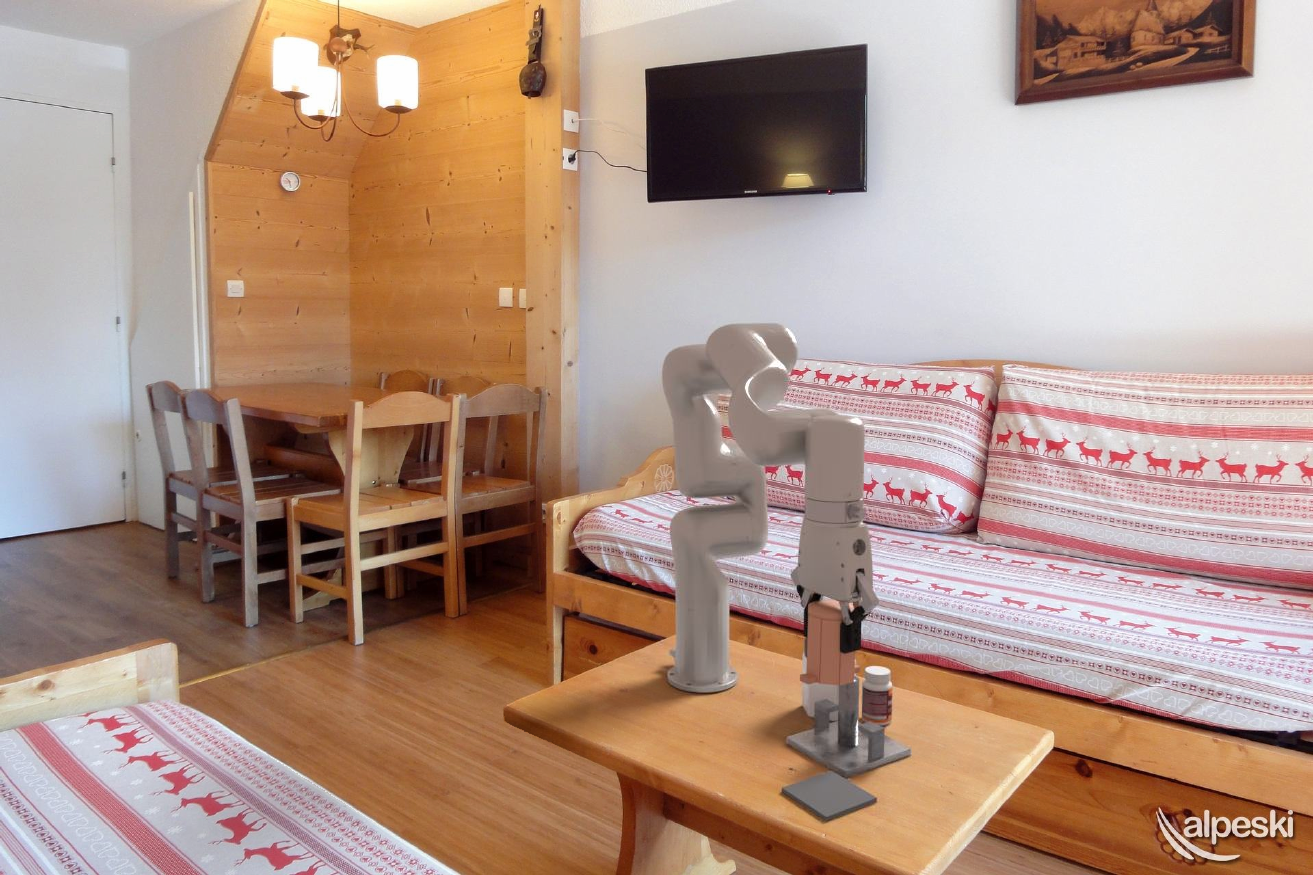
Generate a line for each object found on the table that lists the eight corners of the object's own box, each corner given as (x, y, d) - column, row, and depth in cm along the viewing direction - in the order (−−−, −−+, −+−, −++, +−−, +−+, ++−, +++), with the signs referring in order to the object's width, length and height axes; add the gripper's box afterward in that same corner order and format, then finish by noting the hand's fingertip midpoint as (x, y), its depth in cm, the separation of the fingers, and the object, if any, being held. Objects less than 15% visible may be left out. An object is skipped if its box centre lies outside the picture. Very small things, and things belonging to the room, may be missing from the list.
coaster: (781, 791, 129) (781, 787, 129) (830, 774, 134) (830, 770, 134) (826, 821, 121) (826, 816, 121) (876, 801, 126) (876, 797, 126)
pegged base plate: (786, 743, 143) (787, 674, 142) (849, 722, 150) (850, 657, 149) (845, 778, 132) (847, 703, 131) (910, 754, 139) (912, 683, 138)
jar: (825, 725, 149) (826, 653, 148) (791, 708, 156) (792, 638, 154) (865, 712, 154) (867, 642, 153) (830, 695, 161) (832, 628, 159)
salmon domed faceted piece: (839, 663, 130) (841, 596, 129) (872, 677, 125) (875, 607, 124) (788, 675, 125) (790, 605, 124) (820, 690, 120) (822, 617, 119)
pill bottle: (894, 726, 149) (896, 675, 148) (864, 726, 149) (865, 675, 148) (888, 713, 154) (889, 664, 153) (858, 713, 154) (859, 664, 153)
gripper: (904, 518, 117) (900, 657, 119) (811, 497, 131) (809, 620, 134) (859, 526, 113) (857, 669, 115) (769, 503, 128) (768, 630, 130)
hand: (831, 642), depth 125 cm, fingers closed on salmon domed faceted piece, 6 cm apart
